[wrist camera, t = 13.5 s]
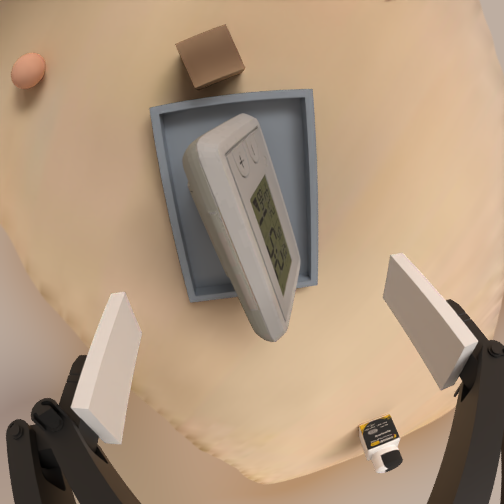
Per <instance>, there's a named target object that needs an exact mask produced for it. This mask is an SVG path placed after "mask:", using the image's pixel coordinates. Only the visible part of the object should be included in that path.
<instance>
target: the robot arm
mask: <svg viewBox="0 0 504 504" xmlns="http://www.w3.org/2000/svg"><path fill="white" fill-rule="evenodd" d="M383 299H384V300H385V302H386V303H387V305H388V306H389V308H390V309H391V311H392V312H393V314H394V315H395V317H396V318H397V320H398V321H399V323H400V324H401V326H402V327H403V329H404V331H405V332H406V334H407V335H408V337H409V338H410V340H411V342H412V343H413V345H414V346H415V348H416V350H417V351H418V353H419V354H420V356H421V358H422V359H423V361H424V363H425V364H426V366H427V368H428V369H429V371H430V373H431V374H432V376H433V378H434V379H435V381H436V383H437V385H438V386H439V388H440V390H443V389H445V388H448V387H450V386H452V385H454V384H455V382H456V381H457V379H458V377H459V376H460V378H461V380H462V383H461V384H460V386H459V387H458V389H457V390H456V392H455V394H454V397H456V395H457V394H458V392H459V395H458V400H457V405H456V410H455V415H454V419H453V424H452V428H451V432H450V436H449V439H448V443H447V447H446V451H445V454H444V457H443V461H442V463H441V467H440V470H439V473H438V476H437V478H436V481H435V484H434V487H433V490H432V492H431V495H430V497H429V500H428V502H427V504H488V503H489V500H490V497H491V493H492V489H493V485H494V481H495V477H496V472H497V467H498V462H499V457H500V452H501V461H502V482H501V503H500V504H504V346H503V345H502V344H501V343H500V342H497V341H495V340H488V339H487V338H486V337H485V336H484V334H483V333H482V332H481V331H480V329H479V328H478V327H477V326H476V324H475V323H474V322H473V321H472V319H471V320H470V317H469V316H468V315H467V314H466V313H465V311H464V310H463V309H462V308H461V306H460V305H459V304H457V303H456V302H454V301H453V300H451V299H449V300H445V299H444V298H443V297H442V296H441V294H440V293H439V292H438V291H437V290H436V289H435V288H434V286H433V285H432V284H431V283H430V282H429V281H428V280H427V279H426V277H425V276H424V275H423V274H422V273H421V272H420V271H419V270H418V269H417V268H416V266H415V265H414V264H413V263H412V262H411V261H410V260H409V259H408V258H407V257H406V256H405V255H404V254H403V253H398V254H392V255H390V260H389V266H388V272H387V278H386V283H385V289H384V294H383ZM141 336H142V331H141V329H140V327H139V325H138V322H137V320H136V317H135V315H134V313H133V310H132V308H131V305H130V303H129V300H128V298H127V295H126V293H125V292H119V293H111V295H110V298H109V300H108V302H107V305H106V307H105V310H104V312H103V315H102V317H101V320H100V322H99V325H98V328H97V330H96V333H95V336H94V338H93V341H92V344H91V347H90V349H89V352H88V355H80V356H79V357H78V358H77V359H76V361H75V362H74V363H73V365H72V367H71V370H70V375H69V376H68V379H67V383H66V385H65V387H64V390H63V394H62V396H61V400H60V403H59V405H58V404H57V403H56V401H55V400H53V399H51V398H44V399H42V400H40V401H39V402H37V403H36V404H35V406H34V407H33V409H32V412H31V419H32V421H34V423H35V425H30V426H29V425H28V424H27V423H26V422H25V421H24V420H21V419H18V420H15V421H13V422H12V423H11V424H10V425H9V426H8V429H7V433H6V441H7V453H8V463H9V471H10V479H11V485H12V491H13V496H14V502H15V504H76V502H75V499H74V495H73V492H74V494H75V496H76V498H77V499H78V501H79V503H80V504H141V503H140V502H139V500H138V499H137V498H136V497H135V496H134V494H133V493H132V492H131V490H130V489H129V488H128V486H127V485H126V484H125V482H124V481H123V480H122V478H121V477H120V476H119V474H118V473H117V471H116V470H115V469H114V467H113V466H112V464H111V463H110V462H109V460H108V458H107V457H106V455H105V454H104V452H103V451H102V449H101V448H100V446H99V445H98V444H97V443H98V438H100V439H101V440H102V441H104V442H105V443H110V444H122V437H123V430H124V423H125V417H126V411H127V405H128V399H129V394H130V389H131V383H132V378H133V373H134V368H135V363H136V358H137V354H138V349H139V345H140V340H141ZM72 491H73V492H72Z"/></svg>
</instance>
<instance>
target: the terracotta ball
mask: <svg viewBox="0 0 504 504" xmlns="http://www.w3.org/2000/svg"><path fill="white" fill-rule="evenodd" d="M44 73H45V61H44V59H43V57H42V56H41V55H39V54H37V53H28V54H25V55H23V56H21V57H20V58H19V59H18V60H17V61H16V62H15V64H14V66H13V68H12V72H11V78H12V81H13V83H14V85H15V86H17V87H18V88H21V89H27V88H31V87H33V86H35V85H36V84H37V83H38V82H39V81H40V80H41V79H42V77H43V75H44Z"/></svg>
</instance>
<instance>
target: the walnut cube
mask: <svg viewBox="0 0 504 504" xmlns="http://www.w3.org/2000/svg"><path fill="white" fill-rule="evenodd" d="M175 45H176V47H177V49H178V52H179V54H180V56H181V58H182V60H183V63H184V65H185V67H186V69H187V72H188V74H189V76H190V78H191V80H192V83H193V85H194V87H195V88H196V89H198V90H200V89H202V88H205V87H207V86H209V85H212V84H214V83H217V82H219V81H222V80H224V79H227V78H229V77H232V76H235V75H237V74H240V73H242V72H243V71H244V69H245V67H244V64H243V62H242V60H241V57H240V55H239V53H238V51H237V48H236V46H235V44H234V42H233V39H232V37H231V35H230V33H229V31H228V29H227V26H226V24H225V25H222V26H219V27H216V28H214V29H211V30H208V31H206V32H203V33H201V34H198V35H196V36H193V37H191V38H188V39H186V40H184V41H181V42H179V43H177V44H175Z"/></svg>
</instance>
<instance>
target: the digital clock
mask: <svg viewBox="0 0 504 504" xmlns="http://www.w3.org/2000/svg"><path fill="white" fill-rule="evenodd" d="M182 163H183V168H184V171H185V174H186V176H187V179H188V188H189V190H190V193H191V195H192V198H193V200H194V202H195V205H196V207H197V209H198V212H199V214H200V216H201V219H202V221H203V223H204V226H205V228H206V230H207V233H208V235H209V237H210V240H211V242H212V244H213V246H214V249H215V251H216V253H217V256H218V258H219V260H220V262H221V265H222V267H223V269H224V271H225V274H226V275H227V276H228V277H229V278H230V280H231V282H232V284H233V287H234V289H235V291H236V293H237V296H238V298H239V300H240V302H241V304H242V307H243V309H244V311H245V313H246V315H247V318H248V320H249V322H250V324H251V326H252V328H253V330H254V331H255V333H256V334H257V335H258V336H260V337H261V338H263V339H264V340H267V341H270V342H274V341H275V342H276V341H277V340H278V339H279V338H280V337H282V336H283V335H284V333H285V332H286V331H287V329H288V325H289V320H290V316H291V311H292V306H293V301H294V296H295V291H296V286H297V280H298V275H299V270H300V255H299V251H298V247H297V243H296V240H295V236H294V233H293V229H292V226H291V223H290V219H289V216H288V212H287V209H286V206H285V202H284V199H283V196H282V192H281V189H280V186H279V183H278V179H277V176H276V173H275V170H274V167H273V163H272V160H271V157H270V154H269V151H268V148H267V145H266V142H265V139H264V136H263V133H262V130H261V127H260V124H259V122H258V120H257V119H256V118H254V117H252V116H250V115H247V114H245V113H242V114H239V115H237V116H235V117H233V118H231V119H229V120H227V121H226V122H224V123H222V124H220V125H218V126H217V127H215V128H213V129H212V130H210V131H208V132H206V133H205V134H203V135H201V136H200V137H198V138H197V139H196V140H194V141H193V142H192V143H191V144H190V145H189V146H188V148H187V149H186V151H185V152H184V155H183V159H182Z"/></svg>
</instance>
